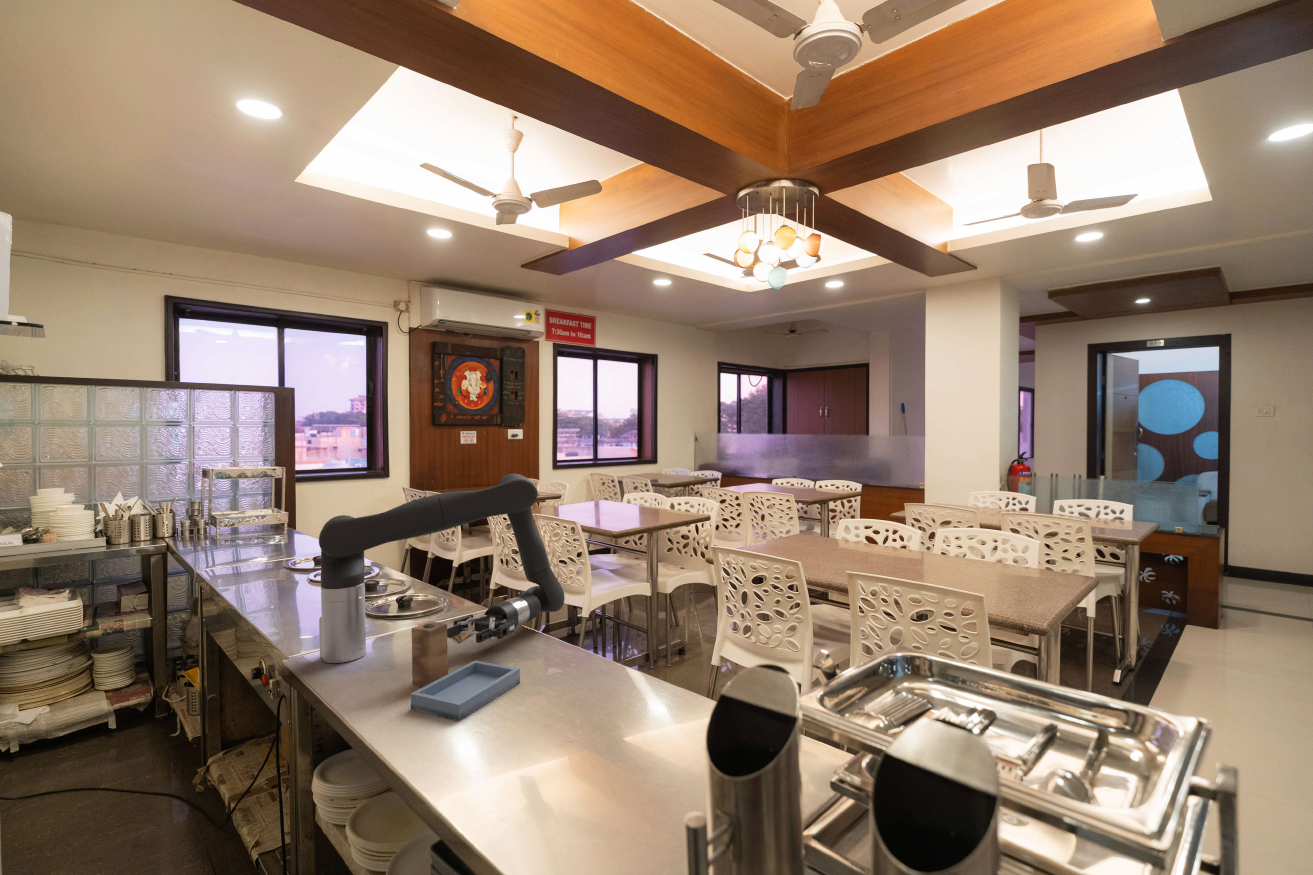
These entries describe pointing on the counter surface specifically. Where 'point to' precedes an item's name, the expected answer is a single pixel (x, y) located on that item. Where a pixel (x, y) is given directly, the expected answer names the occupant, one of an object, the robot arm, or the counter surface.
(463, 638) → the shard
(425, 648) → the walnut block
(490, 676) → the slate tray
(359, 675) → the counter surface
